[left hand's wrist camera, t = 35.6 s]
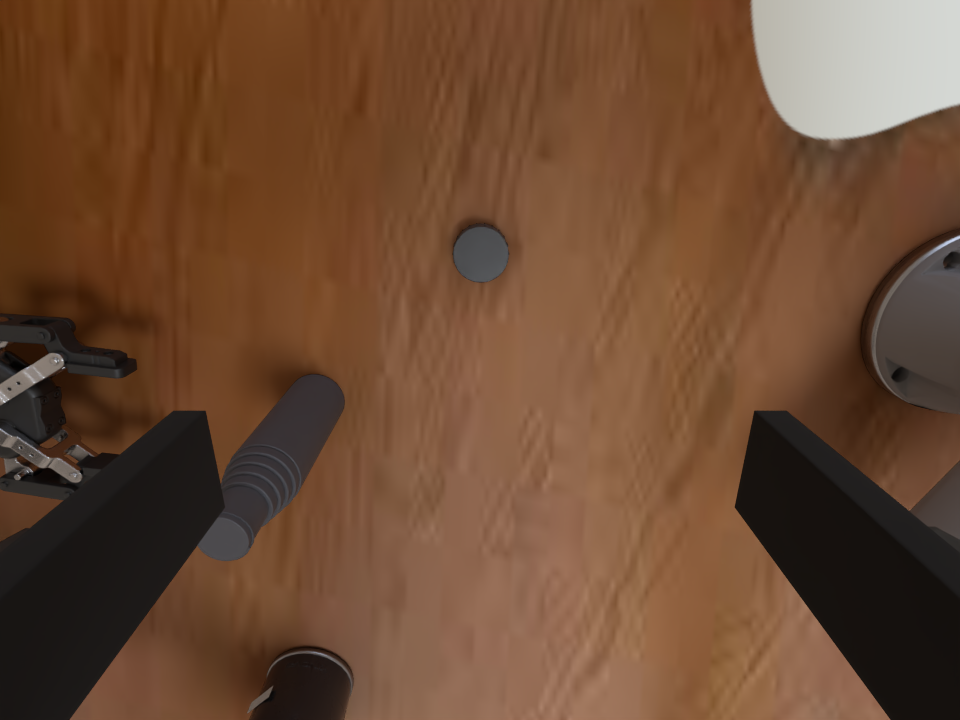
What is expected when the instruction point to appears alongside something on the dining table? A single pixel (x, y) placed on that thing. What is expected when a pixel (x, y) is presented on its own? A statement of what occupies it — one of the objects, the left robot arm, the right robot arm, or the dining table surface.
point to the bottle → (273, 464)
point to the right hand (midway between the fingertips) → (135, 420)
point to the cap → (480, 253)
